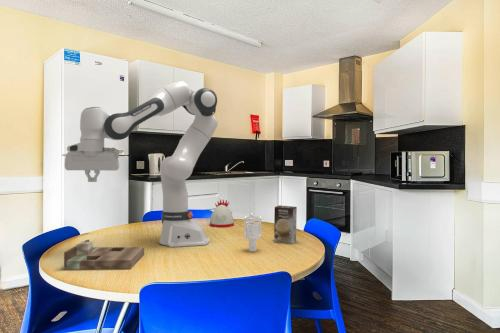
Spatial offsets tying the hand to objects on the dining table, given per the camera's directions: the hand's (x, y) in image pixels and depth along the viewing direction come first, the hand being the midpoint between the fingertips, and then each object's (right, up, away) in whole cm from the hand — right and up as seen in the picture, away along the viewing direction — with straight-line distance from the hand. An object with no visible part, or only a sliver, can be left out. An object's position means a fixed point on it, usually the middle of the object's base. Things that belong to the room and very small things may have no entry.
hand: (92, 181), depth 137 cm
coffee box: (+80, -29, +19) cm, 87 cm away
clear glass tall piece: (+65, -29, +3) cm, 71 cm away
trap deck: (+12, -29, -13) cm, 33 cm away
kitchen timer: (+47, -28, +58) cm, 80 cm away
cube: (+4, -26, -14) cm, 29 cm away
